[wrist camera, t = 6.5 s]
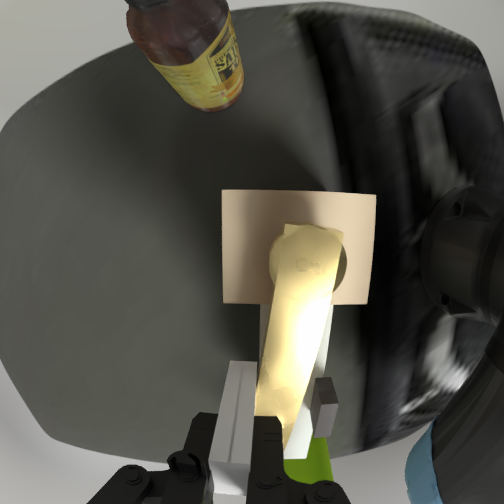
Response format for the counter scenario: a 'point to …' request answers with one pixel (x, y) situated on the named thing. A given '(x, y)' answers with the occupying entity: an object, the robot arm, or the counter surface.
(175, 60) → the sauce bottle
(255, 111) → the counter surface
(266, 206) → the door frame
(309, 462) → the soap dispenser
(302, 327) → the swing bar
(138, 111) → the counter surface
